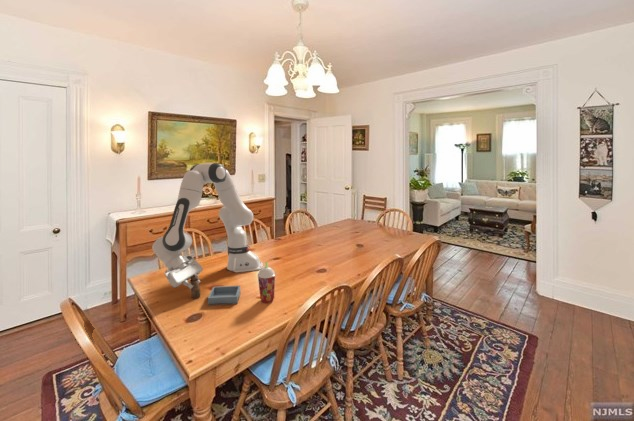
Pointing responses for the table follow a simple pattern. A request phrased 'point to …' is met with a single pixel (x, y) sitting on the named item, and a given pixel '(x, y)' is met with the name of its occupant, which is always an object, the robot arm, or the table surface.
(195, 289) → the pepper mill
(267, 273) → the smoothie
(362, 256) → the table surface
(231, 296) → the serving tray
